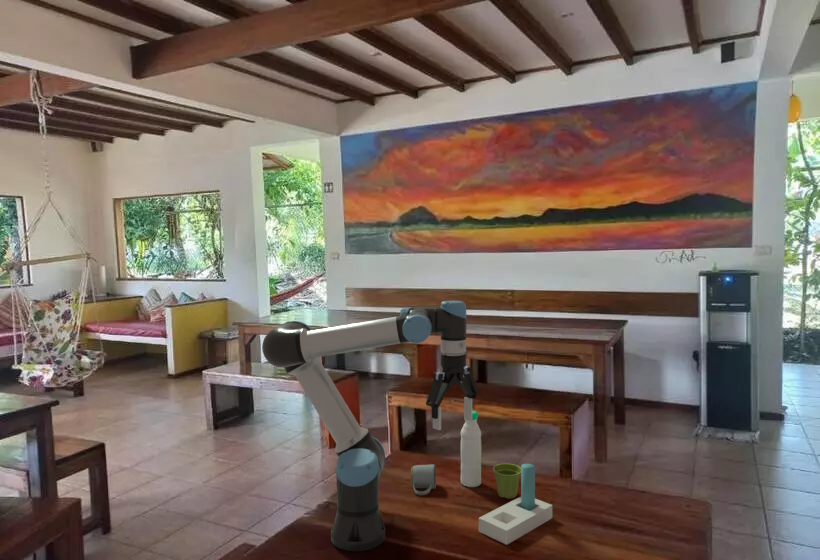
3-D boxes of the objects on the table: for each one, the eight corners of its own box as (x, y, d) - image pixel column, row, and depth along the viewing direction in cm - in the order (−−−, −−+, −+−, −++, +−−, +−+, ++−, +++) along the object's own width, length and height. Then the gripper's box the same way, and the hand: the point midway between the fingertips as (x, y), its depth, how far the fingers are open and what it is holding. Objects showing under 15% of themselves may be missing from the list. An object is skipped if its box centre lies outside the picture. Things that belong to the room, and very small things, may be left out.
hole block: (478, 531, 164) (478, 517, 164) (524, 506, 179) (524, 494, 179) (506, 544, 157) (506, 530, 157) (552, 518, 172) (552, 505, 172)
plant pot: (527, 498, 185) (527, 472, 185) (502, 503, 182) (502, 476, 181) (512, 486, 194) (512, 461, 193) (487, 491, 190) (487, 466, 190)
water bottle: (484, 482, 198) (484, 410, 196) (475, 489, 192) (475, 416, 190) (466, 477, 202) (466, 407, 200) (456, 485, 196) (456, 412, 194)
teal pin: (518, 515, 172) (518, 466, 171) (526, 510, 175) (526, 462, 173) (529, 519, 169) (529, 470, 168) (537, 515, 172) (537, 466, 170)
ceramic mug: (412, 481, 198) (412, 460, 198) (436, 482, 198) (436, 461, 197) (409, 496, 188) (408, 473, 187) (434, 497, 187) (433, 474, 186)
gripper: (432, 361, 158) (432, 436, 160) (490, 349, 175) (489, 418, 177) (413, 357, 164) (413, 430, 165) (471, 346, 181) (471, 412, 182)
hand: (452, 424), depth 171 cm, fingers open, 13 cm apart
